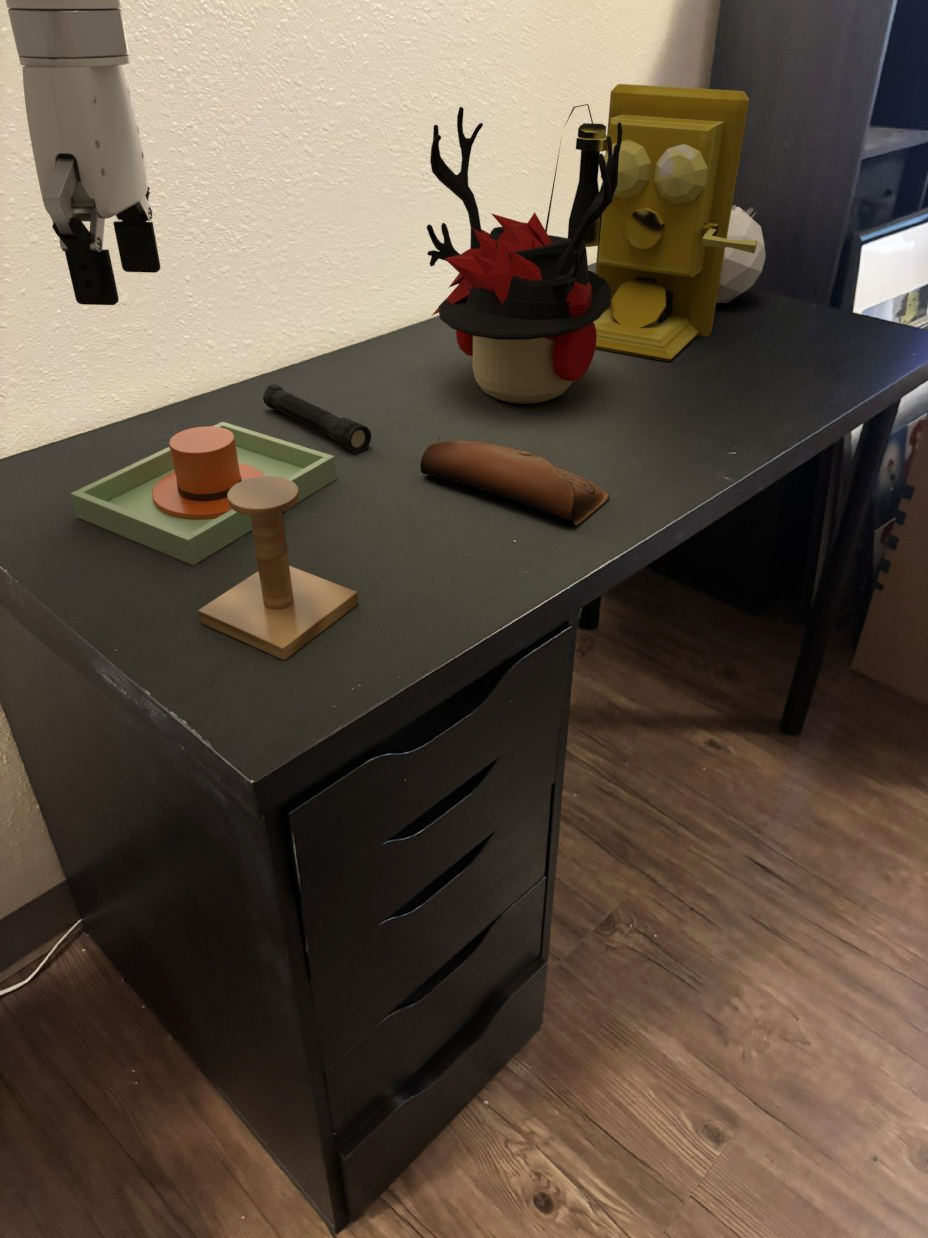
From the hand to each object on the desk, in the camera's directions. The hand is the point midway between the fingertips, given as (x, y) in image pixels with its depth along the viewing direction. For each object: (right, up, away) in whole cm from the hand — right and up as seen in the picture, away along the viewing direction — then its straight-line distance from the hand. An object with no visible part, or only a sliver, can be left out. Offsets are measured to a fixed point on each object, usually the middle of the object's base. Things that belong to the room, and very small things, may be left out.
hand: (121, 286), depth 75 cm
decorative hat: (+35, 0, +37) cm, 51 cm away
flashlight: (+11, -6, +28) cm, 31 cm away
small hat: (+3, -15, +14) cm, 21 cm away
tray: (+3, -15, +15) cm, 22 cm away
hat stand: (+13, -27, -1) cm, 30 cm away
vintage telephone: (+51, +12, +54) cm, 75 cm away
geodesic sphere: (+67, +22, +68) cm, 98 cm away
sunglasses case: (+33, -14, +17) cm, 40 cm away
